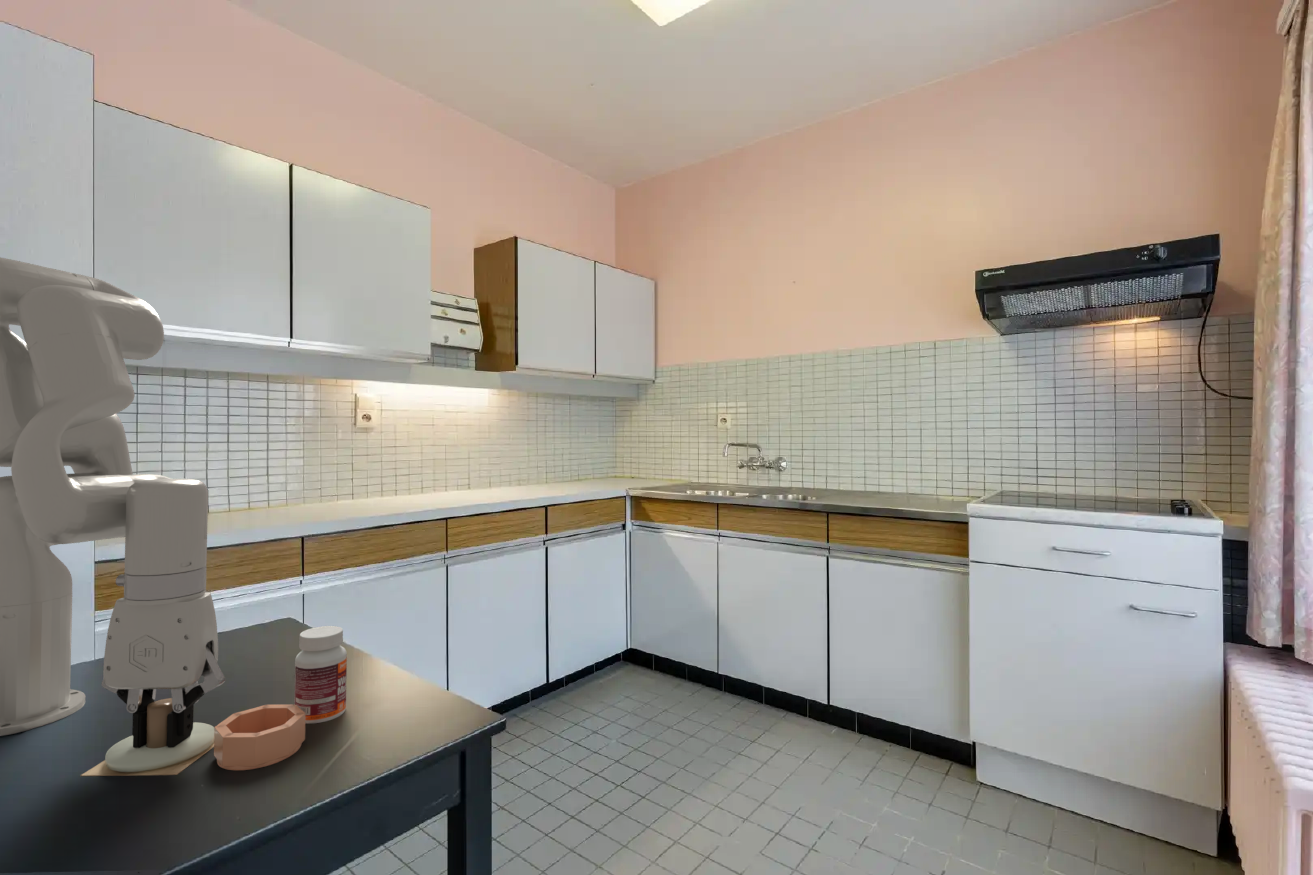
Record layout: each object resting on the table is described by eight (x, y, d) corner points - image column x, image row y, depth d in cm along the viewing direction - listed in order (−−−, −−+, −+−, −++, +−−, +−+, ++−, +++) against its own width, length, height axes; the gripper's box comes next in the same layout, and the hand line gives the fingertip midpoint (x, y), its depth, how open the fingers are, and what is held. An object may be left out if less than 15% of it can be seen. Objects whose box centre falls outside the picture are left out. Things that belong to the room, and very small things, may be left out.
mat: (80, 778, 67) (80, 775, 67) (150, 734, 77) (150, 731, 77) (176, 777, 67) (177, 774, 67) (234, 733, 77) (234, 730, 77)
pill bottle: (348, 719, 82) (350, 634, 82) (295, 730, 78) (296, 641, 78) (342, 702, 87) (344, 622, 87) (292, 712, 84) (294, 628, 84)
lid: (80, 772, 67) (81, 723, 67) (150, 728, 77) (151, 686, 77) (176, 771, 67) (177, 722, 67) (233, 728, 77) (235, 686, 77)
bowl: (198, 773, 68) (199, 737, 68) (245, 736, 77) (245, 704, 77) (277, 772, 69) (278, 736, 69) (314, 736, 77) (315, 704, 77)
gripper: (63, 592, 68) (59, 759, 68) (218, 593, 69) (214, 758, 69) (119, 576, 75) (115, 727, 75) (257, 577, 76) (254, 726, 76)
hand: (162, 740), depth 72 cm, fingers closed on lid, 3 cm apart
